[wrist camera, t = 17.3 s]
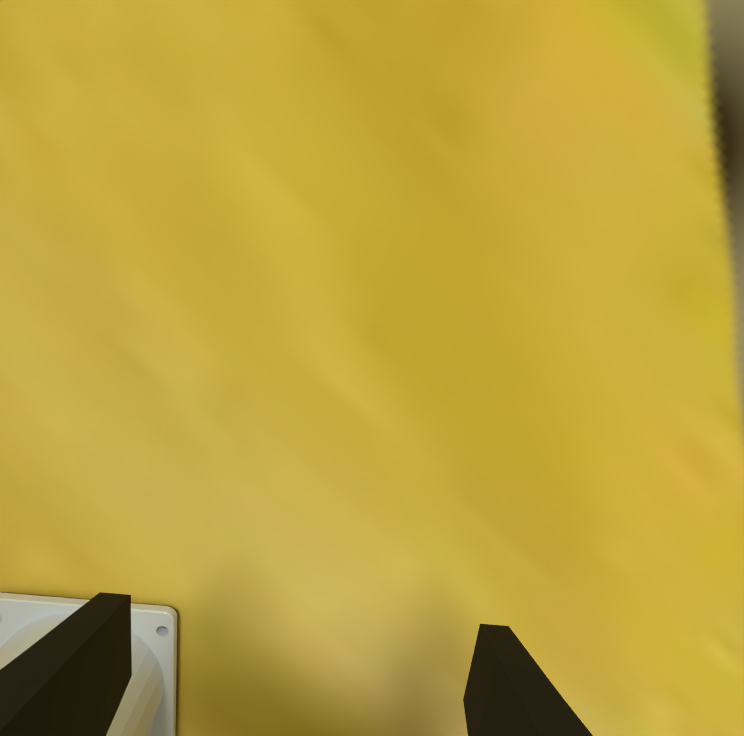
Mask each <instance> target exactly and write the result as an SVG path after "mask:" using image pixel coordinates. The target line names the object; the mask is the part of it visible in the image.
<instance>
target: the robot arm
mask: <svg viewBox="0 0 744 736" xmlns="http://www.w3.org/2000/svg"><path fill="white" fill-rule="evenodd" d="M161 626H164V627H166V628H167V629H165V628H163V627H161ZM176 669H177V613H176V611H175V610H174V609H173V608H171V607H168V606H159V605H147V604H135V603H131V595H124V594H112V593H99V594H97V595H96V596H95V597H93V598H92V599H91V600H86V599H74V598H61V597H49V596H37V595H25V594H12V593H0V736H175V734H176ZM463 701H464V708H465V715H466V723H467V730H468V736H593V735H592V734H591V733H590V732H589V730H588V729H587V728H586V727H585V725H584V724H583V723H582V722H581V720H580V719H579V718H578V717H577V715H576V714H575V713H574V712H573V710H572V709H571V708H570V707H569V705H568V704H567V703H566V701H565V700H564V699H563V698H562V696H561V695H560V694H559V692H558V691H557V690H556V688H555V687H554V686H553V685H552V683H551V682H550V681H549V679H548V678H547V677H546V675H545V674H544V673H543V671H542V670H541V669H540V667H539V666H538V665H537V663H536V662H535V661H534V659H533V658H532V657H531V655H530V654H529V653H528V651H527V650H526V649H525V647H524V646H523V645H522V643H521V642H520V641H519V639H518V638H517V637H516V635H515V634H514V633H513V631H512V630H511V629H510V628H509V626H500V625H488V624H480V627H479V631H478V636H477V640H476V645H475V649H474V654H473V658H472V663H471V668H470V672H469V677H468V681H467V686H466V690H465V695H464V699H463Z"/></svg>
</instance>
